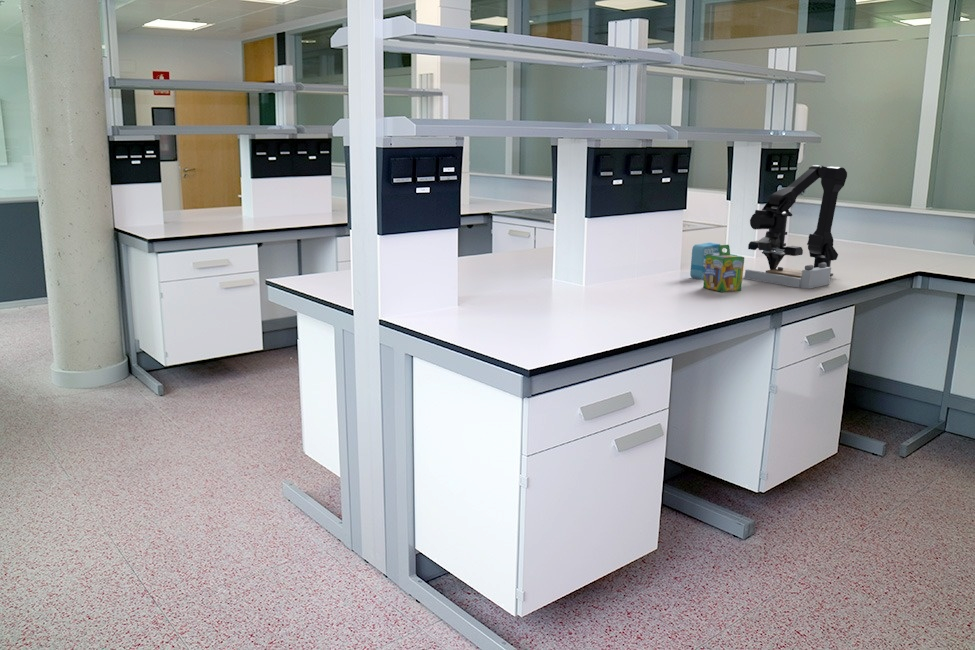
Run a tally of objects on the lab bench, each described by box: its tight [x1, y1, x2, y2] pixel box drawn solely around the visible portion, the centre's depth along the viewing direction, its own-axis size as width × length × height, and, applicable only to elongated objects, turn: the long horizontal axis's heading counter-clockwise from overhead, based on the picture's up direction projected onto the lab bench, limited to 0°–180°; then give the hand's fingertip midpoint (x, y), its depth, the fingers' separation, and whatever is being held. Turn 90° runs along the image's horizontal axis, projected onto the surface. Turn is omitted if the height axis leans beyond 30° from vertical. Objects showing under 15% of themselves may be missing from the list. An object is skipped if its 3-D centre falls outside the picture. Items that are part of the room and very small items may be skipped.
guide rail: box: [744, 269, 801, 289], centre depth 279 cm, size 2×21×3 cm, turn 40°
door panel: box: [765, 266, 802, 278], centre depth 282 cm, size 11×13×5 cm
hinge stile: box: [799, 262, 832, 289], centre depth 274 cm, size 14×3×8 cm, turn 130°
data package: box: [689, 242, 721, 280], centre depth 285 cm, size 12×4×12 cm, turn 132°
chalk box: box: [702, 244, 745, 293], centre depth 264 cm, size 9×9×15 cm
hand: (772, 271), depth 288 cm, fingers closed
